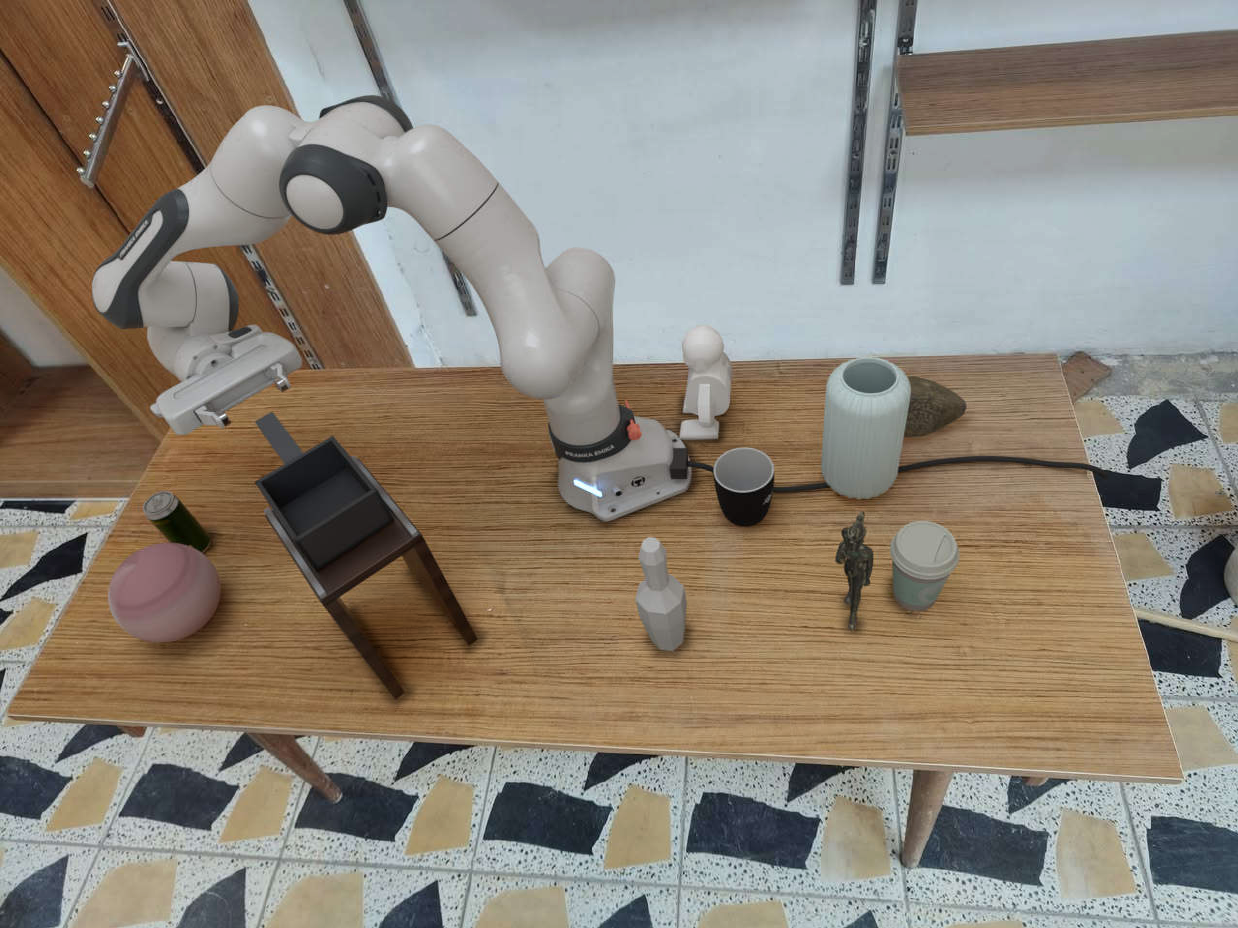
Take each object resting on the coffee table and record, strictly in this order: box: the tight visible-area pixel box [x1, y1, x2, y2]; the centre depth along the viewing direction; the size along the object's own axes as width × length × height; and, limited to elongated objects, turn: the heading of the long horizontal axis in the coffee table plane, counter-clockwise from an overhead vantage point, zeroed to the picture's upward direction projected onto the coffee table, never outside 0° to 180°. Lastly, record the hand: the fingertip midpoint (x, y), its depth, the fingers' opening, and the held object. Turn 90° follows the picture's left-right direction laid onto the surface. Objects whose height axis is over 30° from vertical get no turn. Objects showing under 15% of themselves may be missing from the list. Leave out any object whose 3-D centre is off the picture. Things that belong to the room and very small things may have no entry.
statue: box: [835, 510, 874, 631], centre depth 106 cm, size 5×6×20 cm
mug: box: [712, 446, 775, 528], centre depth 125 cm, size 12×9×10 cm
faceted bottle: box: [635, 536, 688, 652], centre depth 107 cm, size 6×6×22 cm
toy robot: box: [678, 324, 733, 441], centre depth 135 cm, size 14×9×20 cm, turn 171°
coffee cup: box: [889, 520, 960, 612], centre depth 110 cm, size 8×8×12 cm
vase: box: [820, 356, 911, 501], centre depth 121 cm, size 12×12×22 cm
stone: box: [904, 375, 968, 438], centre depth 133 cm, size 17×9×8 cm, turn 93°
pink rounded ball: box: [107, 542, 222, 644], centre depth 124 cm, size 15×15×15 cm
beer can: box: [142, 490, 212, 554], centre depth 136 cm, size 5×5×12 cm
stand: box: [263, 454, 479, 700], centre depth 113 cm, size 18×14×27 cm
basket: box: [254, 411, 394, 571], centre depth 105 cm, size 24×11×6 cm, turn 39°
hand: (255, 403), depth 113 cm, fingers open, 8 cm apart
